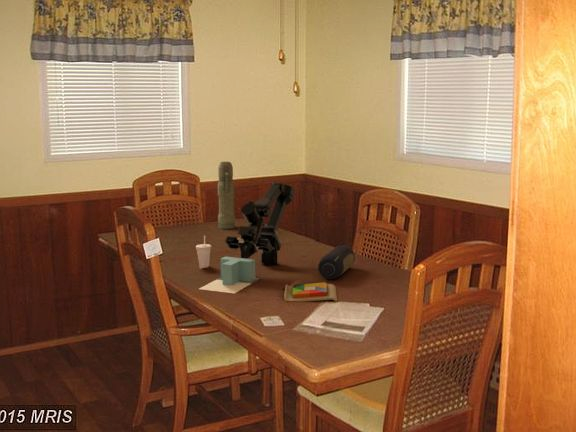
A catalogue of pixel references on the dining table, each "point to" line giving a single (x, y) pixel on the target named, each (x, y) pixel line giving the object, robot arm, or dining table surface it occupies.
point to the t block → (237, 270)
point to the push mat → (226, 286)
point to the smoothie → (203, 254)
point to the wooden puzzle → (310, 292)
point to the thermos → (226, 196)
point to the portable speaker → (336, 262)
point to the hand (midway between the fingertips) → (242, 261)
